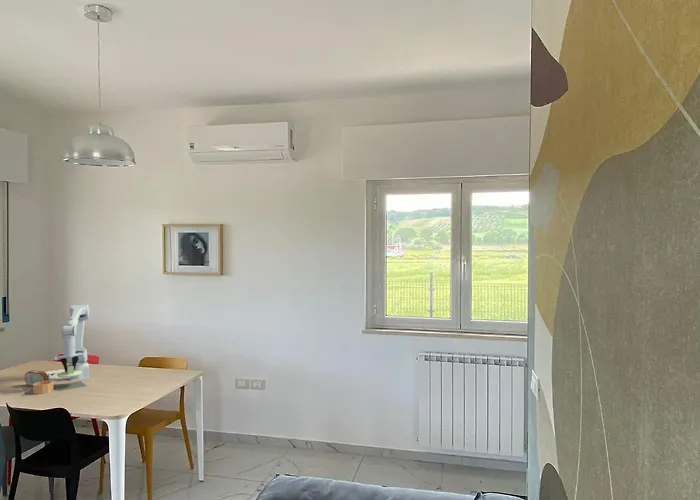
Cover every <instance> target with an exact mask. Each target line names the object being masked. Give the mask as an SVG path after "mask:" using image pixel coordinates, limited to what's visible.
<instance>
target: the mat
mask: <svg viewBox="0 0 700 500" xmlns="http://www.w3.org/2000/svg"><path fill="white" fill-rule="evenodd" d="M84 387H87V384H85V383H84V382H83V381H81V380H76V381H71V382H67V383H61V384H60V383H59V384H56V385H54V384H53V389H55V390H56V391H57V392H61V391H68V390H73V389H78V388H84Z"/></svg>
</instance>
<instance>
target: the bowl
mask: <svg viewBox="0 0 700 500" xmlns="http://www.w3.org/2000/svg"><path fill="white" fill-rule="evenodd" d="M53 386H54V380H49V381H40V382H36V383H34V384H33V386H32V392H33V394H34V395H44V394H49V393H51V392H53V391H54V387H53Z"/></svg>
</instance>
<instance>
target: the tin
mask: <svg viewBox="0 0 700 500" xmlns="http://www.w3.org/2000/svg"><path fill="white" fill-rule="evenodd" d="M40 381H50V378H49V375H48V373H47V372H45V371H44V370H33V369H32V370H30V371H27V372H25V374H24V382H25V384H26V385H27V386H32V387H33V384H34V383H36V382H40Z"/></svg>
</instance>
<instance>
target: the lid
mask: <svg viewBox="0 0 700 500" xmlns="http://www.w3.org/2000/svg"><path fill="white" fill-rule="evenodd" d="M80 374H82V371H79V370H74V366H73V365H69V364H67V372H65V371H62V372H59V373H57V375H56V376H57V377H58V378H70V377H73V376H77V375H80Z"/></svg>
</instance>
